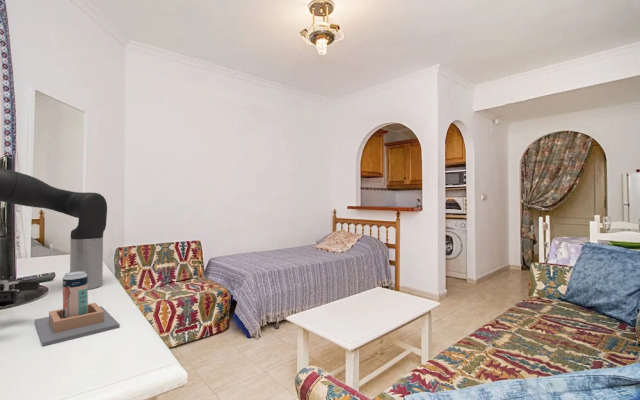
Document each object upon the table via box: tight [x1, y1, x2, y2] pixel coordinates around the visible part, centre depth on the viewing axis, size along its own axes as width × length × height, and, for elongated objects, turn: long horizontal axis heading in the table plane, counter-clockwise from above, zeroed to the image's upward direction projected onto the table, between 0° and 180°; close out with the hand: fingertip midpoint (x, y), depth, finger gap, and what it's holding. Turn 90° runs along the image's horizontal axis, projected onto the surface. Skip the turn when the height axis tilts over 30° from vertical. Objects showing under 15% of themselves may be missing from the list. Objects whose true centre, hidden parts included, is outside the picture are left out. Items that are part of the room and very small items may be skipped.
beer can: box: [62, 271, 89, 319], centre depth 77 cm, size 5×5×12 cm
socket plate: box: [34, 302, 120, 347], centre depth 77 cm, size 18×14×3 cm
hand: (28, 289), depth 74 cm, fingers open, 8 cm apart
